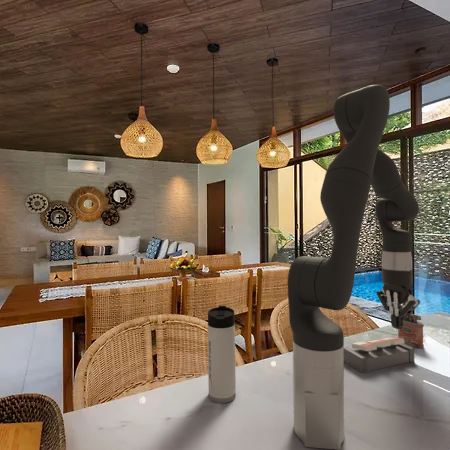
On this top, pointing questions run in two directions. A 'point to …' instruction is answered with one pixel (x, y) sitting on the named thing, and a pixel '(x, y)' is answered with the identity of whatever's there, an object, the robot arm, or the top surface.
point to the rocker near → (364, 346)
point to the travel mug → (221, 354)
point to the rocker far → (394, 340)
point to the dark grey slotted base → (378, 357)
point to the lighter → (412, 331)
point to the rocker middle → (380, 343)
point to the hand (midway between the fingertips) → (397, 327)
